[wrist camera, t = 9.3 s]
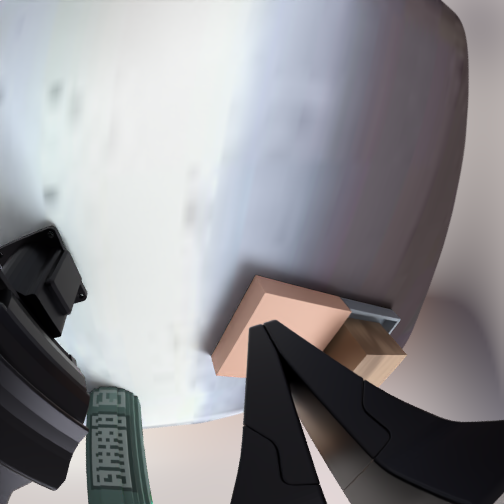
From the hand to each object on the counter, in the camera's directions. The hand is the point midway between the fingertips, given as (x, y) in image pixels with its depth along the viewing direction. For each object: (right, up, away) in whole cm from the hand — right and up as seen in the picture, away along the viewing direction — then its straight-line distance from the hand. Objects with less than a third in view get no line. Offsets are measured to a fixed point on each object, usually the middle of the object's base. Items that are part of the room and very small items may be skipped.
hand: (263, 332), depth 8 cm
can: (-16, -15, +19) cm, 29 cm away
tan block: (+8, -8, +19) cm, 22 cm away
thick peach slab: (+2, -5, +19) cm, 20 cm away
